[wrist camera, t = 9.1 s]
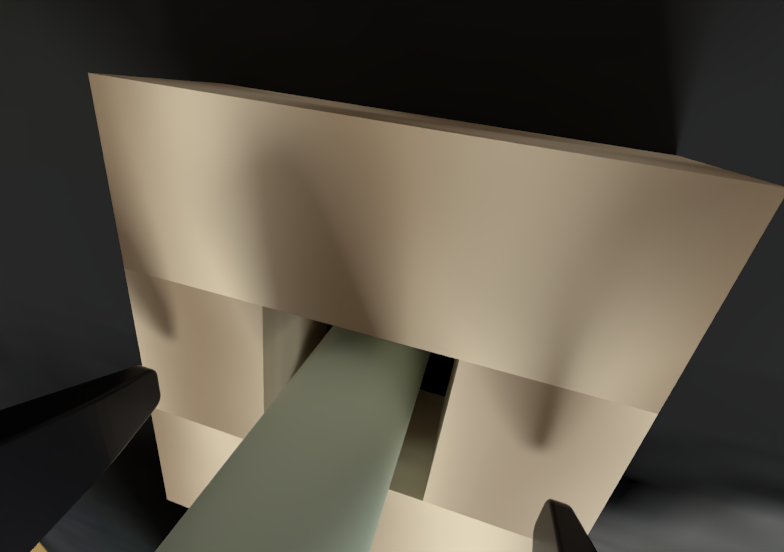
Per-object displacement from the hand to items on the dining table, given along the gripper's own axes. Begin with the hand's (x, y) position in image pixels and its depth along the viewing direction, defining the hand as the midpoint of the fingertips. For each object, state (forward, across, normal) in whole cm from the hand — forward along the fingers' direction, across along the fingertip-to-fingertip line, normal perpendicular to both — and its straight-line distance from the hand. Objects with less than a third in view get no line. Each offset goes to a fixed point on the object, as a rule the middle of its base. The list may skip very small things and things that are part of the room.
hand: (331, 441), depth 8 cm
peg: (+5, 0, 0) cm, 5 cm away
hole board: (+5, 0, 0) cm, 5 cm away
